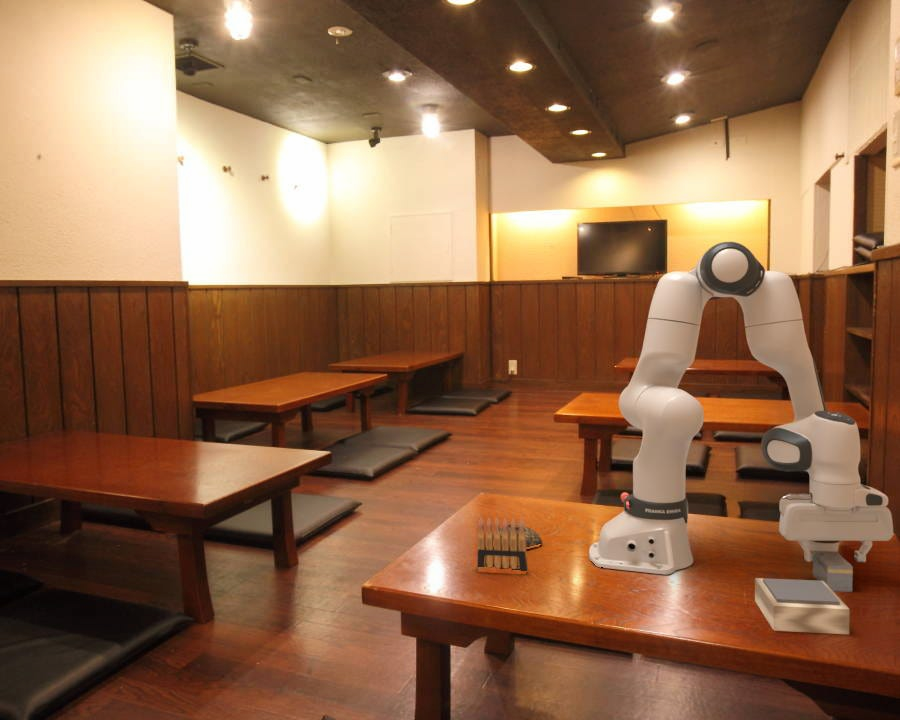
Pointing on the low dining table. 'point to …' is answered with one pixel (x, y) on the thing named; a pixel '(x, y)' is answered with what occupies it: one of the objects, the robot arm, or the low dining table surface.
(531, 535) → the dark speckled curved piece
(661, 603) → the low dining table surface
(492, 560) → the ammunition clip
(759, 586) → the stand
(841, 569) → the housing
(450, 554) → the low dining table surface
